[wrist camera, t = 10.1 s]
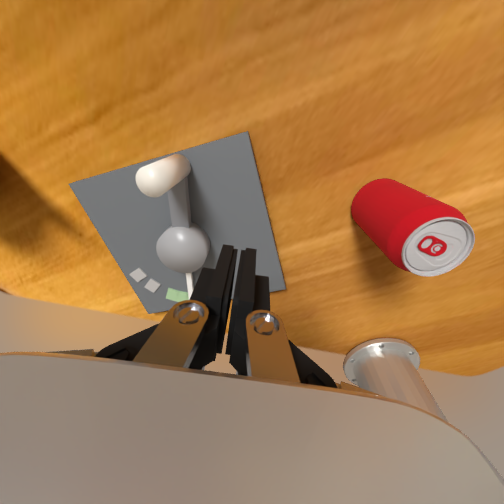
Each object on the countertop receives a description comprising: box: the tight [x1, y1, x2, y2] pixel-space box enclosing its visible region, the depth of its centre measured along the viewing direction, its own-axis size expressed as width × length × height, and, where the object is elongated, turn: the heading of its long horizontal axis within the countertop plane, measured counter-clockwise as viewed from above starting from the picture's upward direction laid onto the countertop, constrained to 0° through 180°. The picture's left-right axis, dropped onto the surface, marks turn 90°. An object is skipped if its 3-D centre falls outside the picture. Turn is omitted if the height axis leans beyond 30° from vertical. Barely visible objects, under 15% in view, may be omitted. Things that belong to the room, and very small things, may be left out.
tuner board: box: [69, 131, 286, 314], centre depth 32 cm, size 21×22×1 cm
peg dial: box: [136, 154, 210, 300], centre depth 28 cm, size 22×6×8 cm, turn 178°
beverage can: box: [351, 179, 475, 276], centre depth 24 cm, size 6×6×12 cm
